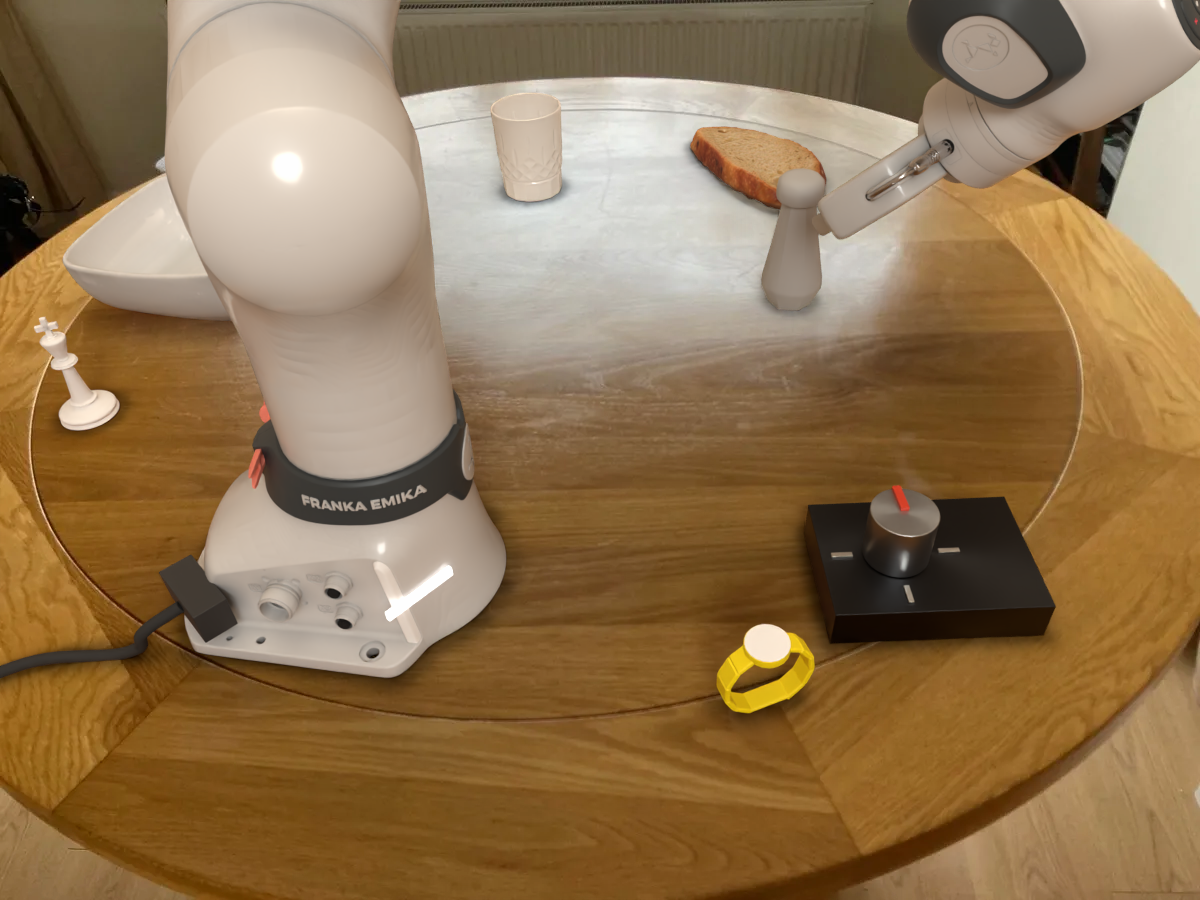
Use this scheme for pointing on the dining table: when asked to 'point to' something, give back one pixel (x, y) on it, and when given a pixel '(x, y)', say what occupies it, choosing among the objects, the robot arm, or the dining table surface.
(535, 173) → the white cup
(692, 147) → the bread slice
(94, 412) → the chess piece
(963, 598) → the black dial panel
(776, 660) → the watch
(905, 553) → the knob
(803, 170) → the salt shaker
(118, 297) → the bowl
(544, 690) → the dining table surface
